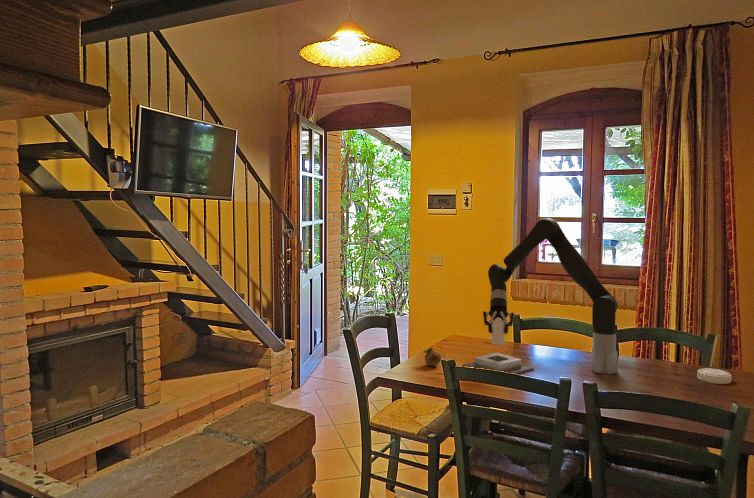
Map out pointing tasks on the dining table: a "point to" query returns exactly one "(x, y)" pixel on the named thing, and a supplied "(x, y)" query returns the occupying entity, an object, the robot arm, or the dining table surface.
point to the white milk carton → (498, 332)
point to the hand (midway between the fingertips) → (498, 332)
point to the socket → (499, 363)
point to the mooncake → (714, 375)
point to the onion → (432, 357)
